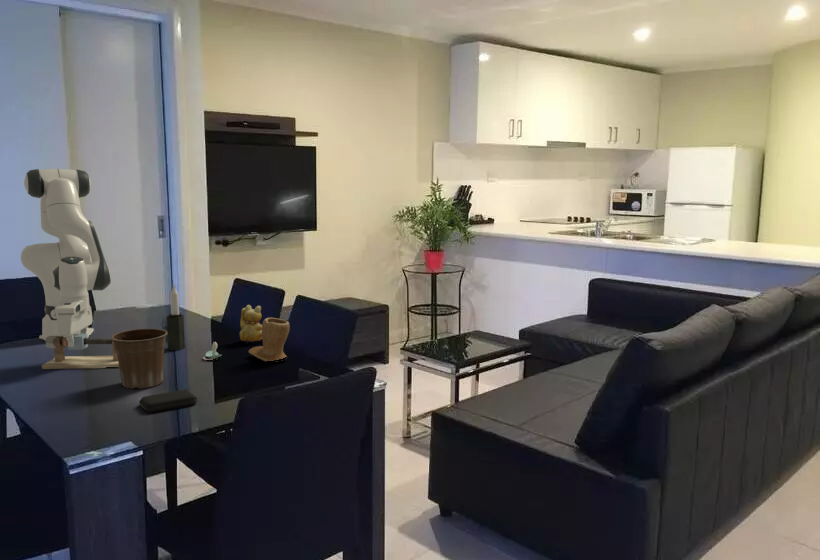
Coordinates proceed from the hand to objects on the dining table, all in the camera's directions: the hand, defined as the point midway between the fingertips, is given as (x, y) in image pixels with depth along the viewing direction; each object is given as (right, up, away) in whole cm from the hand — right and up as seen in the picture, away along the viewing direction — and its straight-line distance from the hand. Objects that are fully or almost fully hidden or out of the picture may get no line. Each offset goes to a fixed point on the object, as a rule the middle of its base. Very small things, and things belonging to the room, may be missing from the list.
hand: (77, 343), depth 230 cm
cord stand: (+3, -7, +1) cm, 8 cm away
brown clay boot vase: (+66, -7, +10) cm, 67 cm away
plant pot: (+31, -11, -21) cm, 39 cm away
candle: (+26, -5, +23) cm, 35 cm away
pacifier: (+44, -7, +9) cm, 46 cm away
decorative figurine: (+53, -3, +33) cm, 62 cm away
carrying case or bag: (+47, -14, -40) cm, 63 cm away
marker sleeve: (0, -2, 0) cm, 2 cm away
